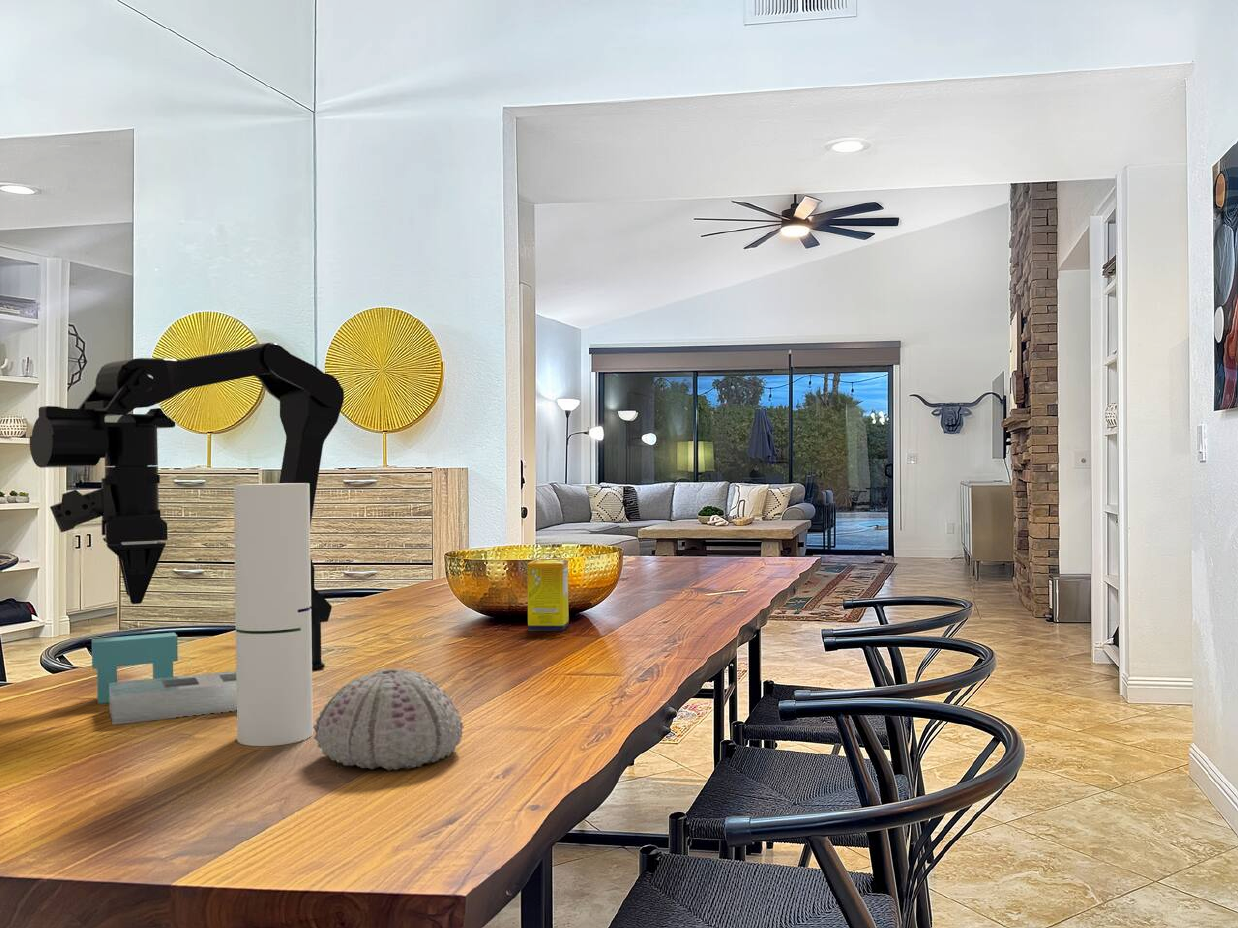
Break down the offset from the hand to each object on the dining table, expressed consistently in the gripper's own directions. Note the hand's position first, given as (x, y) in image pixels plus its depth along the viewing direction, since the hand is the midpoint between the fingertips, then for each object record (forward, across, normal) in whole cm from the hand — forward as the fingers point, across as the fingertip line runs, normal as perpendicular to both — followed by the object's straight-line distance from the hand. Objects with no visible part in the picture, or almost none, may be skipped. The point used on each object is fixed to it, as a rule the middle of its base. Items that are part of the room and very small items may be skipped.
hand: (134, 599), depth 126 cm
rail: (+11, +10, +7) cm, 17 cm away
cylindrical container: (+12, +28, +11) cm, 32 cm away
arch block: (+11, 0, 0) cm, 11 cm away
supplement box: (+12, -23, +63) cm, 68 cm away
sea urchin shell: (+12, +41, +19) cm, 47 cm away
